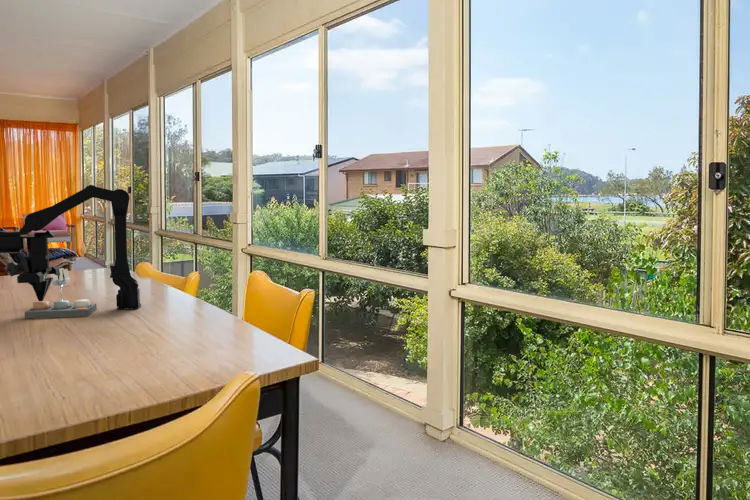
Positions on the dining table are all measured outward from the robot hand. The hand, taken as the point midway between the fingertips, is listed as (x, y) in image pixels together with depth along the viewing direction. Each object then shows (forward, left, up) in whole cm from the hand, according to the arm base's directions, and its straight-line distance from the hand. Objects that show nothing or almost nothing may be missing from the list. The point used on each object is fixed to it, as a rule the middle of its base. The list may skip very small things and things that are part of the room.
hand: (40, 301), depth 180 cm
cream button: (-12, 0, -3) cm, 12 cm away
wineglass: (0, -19, -5) cm, 20 cm away
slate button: (-6, 0, -3) cm, 7 cm away
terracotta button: (0, 0, -3) cm, 3 cm away
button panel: (-6, 0, -4) cm, 7 cm away
